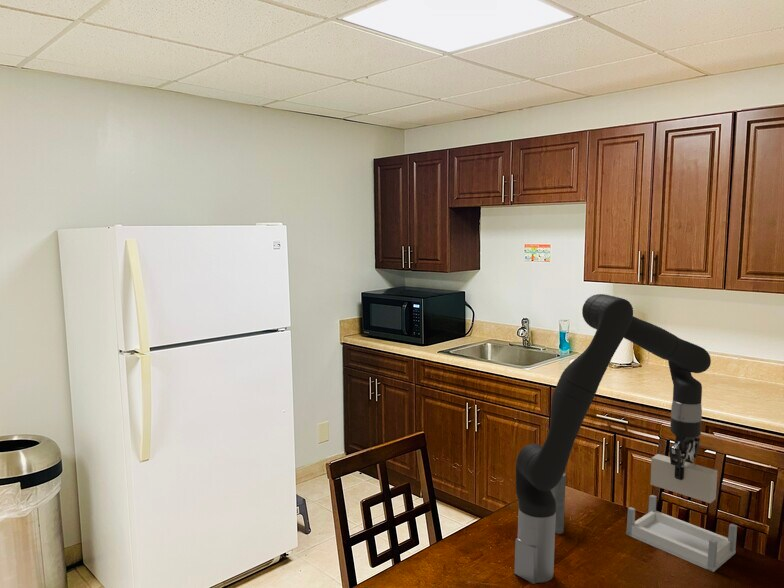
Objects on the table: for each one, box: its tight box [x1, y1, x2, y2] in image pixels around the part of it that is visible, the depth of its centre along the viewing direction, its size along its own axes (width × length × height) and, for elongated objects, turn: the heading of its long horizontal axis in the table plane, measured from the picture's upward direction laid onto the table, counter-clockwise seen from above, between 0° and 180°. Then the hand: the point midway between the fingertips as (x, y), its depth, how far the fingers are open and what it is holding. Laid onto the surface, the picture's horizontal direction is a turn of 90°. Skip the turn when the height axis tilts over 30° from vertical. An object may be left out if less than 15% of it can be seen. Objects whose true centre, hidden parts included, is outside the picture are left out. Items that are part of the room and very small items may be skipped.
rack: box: [625, 494, 738, 573], centre depth 166 cm, size 14×24×8 cm, turn 39°
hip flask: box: [551, 472, 567, 535], centre depth 178 cm, size 16×4×20 cm, turn 1°
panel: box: [650, 453, 718, 504], centre depth 164 cm, size 4×16×8 cm, turn 43°
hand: (683, 476), depth 164 cm, fingers closed on panel, 4 cm apart
